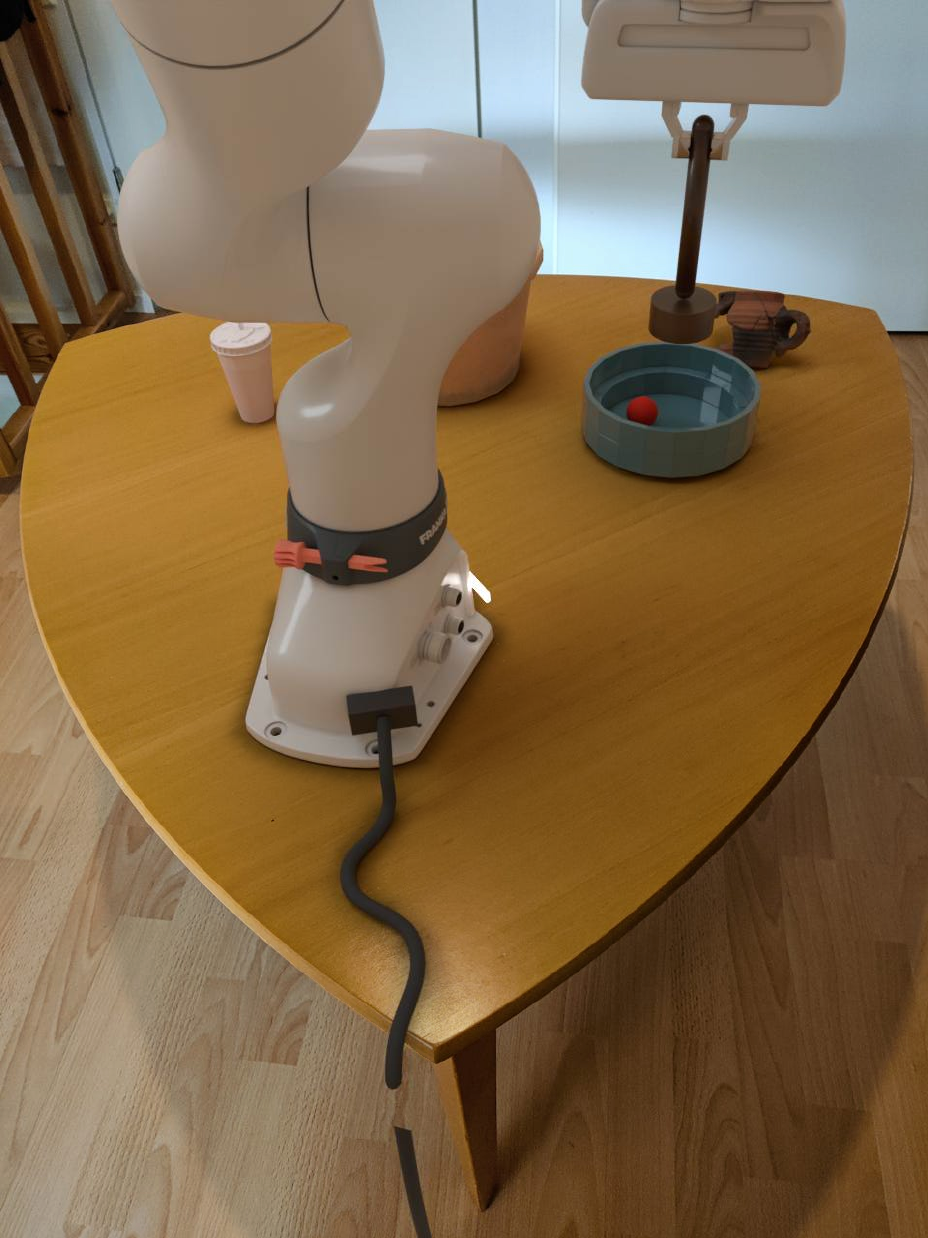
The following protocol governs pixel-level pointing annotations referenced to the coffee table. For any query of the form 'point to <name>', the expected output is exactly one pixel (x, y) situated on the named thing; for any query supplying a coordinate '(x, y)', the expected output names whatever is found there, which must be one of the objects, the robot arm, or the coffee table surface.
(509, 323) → the pottery
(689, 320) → the wooden plunger
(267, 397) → the smoothie
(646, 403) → the cherry tomato
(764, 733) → the coffee table surface
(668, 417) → the bowl
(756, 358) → the pottery mug
